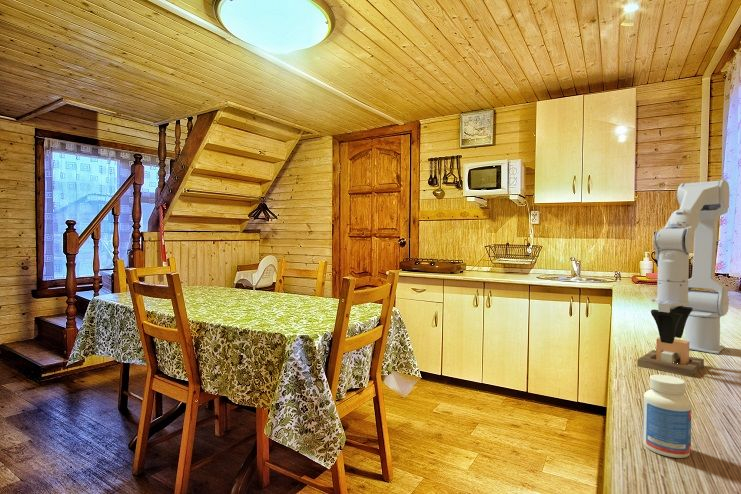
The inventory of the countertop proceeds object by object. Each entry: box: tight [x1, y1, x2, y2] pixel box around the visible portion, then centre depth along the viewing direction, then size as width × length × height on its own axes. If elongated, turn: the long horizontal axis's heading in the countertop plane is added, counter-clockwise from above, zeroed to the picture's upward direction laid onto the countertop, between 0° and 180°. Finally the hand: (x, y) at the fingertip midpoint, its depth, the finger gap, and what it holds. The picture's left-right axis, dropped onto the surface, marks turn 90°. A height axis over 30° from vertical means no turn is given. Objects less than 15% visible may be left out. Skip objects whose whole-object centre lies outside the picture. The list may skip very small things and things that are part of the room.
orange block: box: [655, 336, 690, 365], centre depth 95 cm, size 3×6×6 cm, turn 42°
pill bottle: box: [642, 374, 692, 459], centre depth 57 cm, size 6×5×10 cm
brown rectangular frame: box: [637, 349, 705, 378], centre depth 95 cm, size 12×10×4 cm
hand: (671, 339), depth 95 cm, fingers open, 7 cm apart
